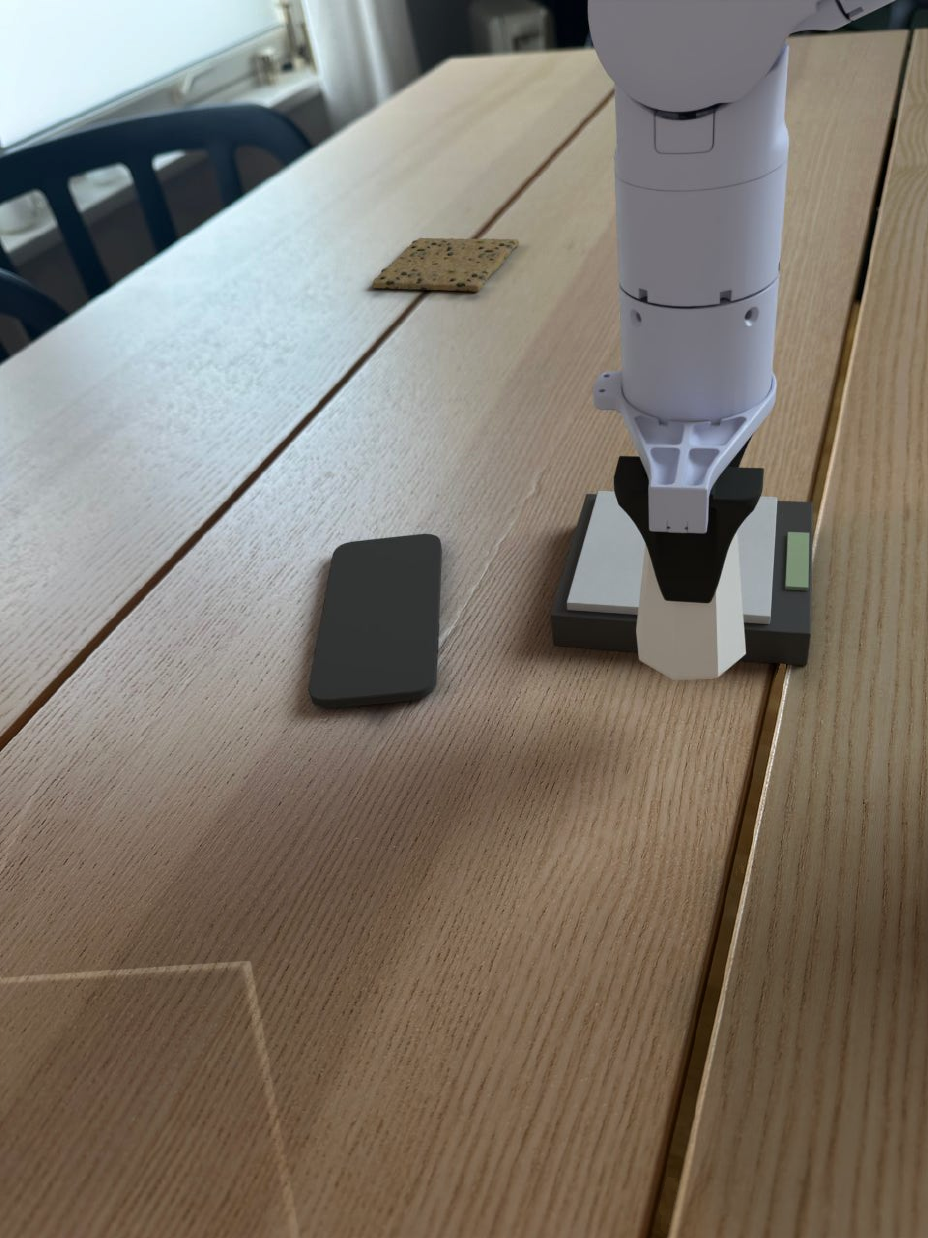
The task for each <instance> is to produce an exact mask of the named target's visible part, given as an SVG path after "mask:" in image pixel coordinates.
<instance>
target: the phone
mask: <svg viewBox="0 0 928 1238" xmlns="http://www.w3.org/2000/svg"><path fill="white" fill-rule="evenodd" d="M442 563H443V548H442V543H441V539H440V537H439V536H437V535H435V534H432V533H418V534H417V533H416V534H408V535H407V534H406V535H398V536H389V537H380V538H372V539H371V538H370V539H362V540H361V539H360V540H353V541H347V542H344V543H342V544H340V545H338V546H336V548H335V549H334V551H333V553H332V556H331V561H330V566H329V572H328V578H327V581H326V588H325V594H324V600H323V604H322V609H321V610H322V611H321V615H320V616H321V617H320V621H319V627H318V631H317V639H316V643H315V649H314V654H313V658H312V659H313V660H312V666H311V671H310V677H309V682H308V694H309V697H310V700H311V702H312V704H313V705H314V706H315V707H318V708H321V709H336V708H346V707H357V706H369V705H378V704H379V705H380V704H390V703H391V704H392V703H402V702H410V701H411V702H412V701H418V700H421V699H424V698H426V697H428V696H430V695H431V694H432V693H433V692H434V691H435V689H436V686H437V682H438V681H437V680H438V665H439V664H438V662H439V661H438V659H439V657H438V656H439V643H440V641H439V637H440V613H441V612H440V611H441V609H440V607H441V586H442V585H441V584H442Z"/></svg>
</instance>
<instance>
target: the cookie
mask: <svg viewBox="0 0 928 1238" xmlns="http://www.w3.org/2000/svg"><path fill="white" fill-rule="evenodd" d="M519 245H520V241H519V240H518V239H514V238H487V237H485V238H453V237H449V238H443V237H437V238H435V237H419V238H418V239H414V240H412V242H411V243H410V244H409V246H407V247H406V248H405V249H404V251H403V252H402V253H401V254H400V255H398V257H396V259H395V260H393V261H392V262H391V263H389V264H388V265H387V266H386V267H384V268H382V269H381V271H380V273H379V274H378V275H377V277H375V278H374V280H373V282H372V287H373V289H385V290H388V289H393V290H394V289H395V290H409V291H413V290H421V291H449V292H450V291H455V292H460V291H461V292H480V291H481V290H482V289H483V286H485V284H486V281H487V280H489V278H490V276H491V275H493V274H494V273H495V272H496V270H498V268H500V266H502V265H503V263H504V262H506V260H507V258H508V257H509V255H510V254H511V253H512V251H513V250H514V249H516V247H517V246H519Z"/></svg>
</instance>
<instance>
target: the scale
mask: <svg viewBox="0 0 928 1238" xmlns="http://www.w3.org/2000/svg"><path fill="white" fill-rule="evenodd" d="M813 516H814V503H813V501H800V500H799V501H798V500H797V501H796V500H795V501H794V500H778V497H776V496H761V497H760V499H759V501H758V503H757V505H756V507H755V509H754V511H753V512H752V513H751V514H750V515H749V516H748V517H747V518H746V519H745V520H744V522H743V523H742V524H741V526H740V527H739V529H738V530H737V536H738V550H739V564H740V578H741V592H742V605H743V619H744V633H745V647H746V654H745V655H744V656H743V657H742V658H740V659H739V660H738V661H741V662H754V663H768V664H780V665H792V666H805V667H806V666H807V665H808V661H809V653H810V647H811V646H810V645H811V639H812V602H813V601H812V598H813V597H812V596H813V594H812V593H813V592H812V590H813V583H812V582H813V532H814V531H813V529H814V528H813V526H814V525H813V524H814V523H813V522H814V519H813V518H814V517H813ZM644 550H645V541H644V539H643V537H642V535H641V533H640V532H639V530H638V528H637V527H636V525H635V523H634V522H633V521H632V519H631V518H630V517H629V516H628V514H627V513H626V512H625V511H624V510H623V509H622V508H621V507H620V506H619V505H618V502H617V499H616V496H615V493H614V490H613V491H611V490H598V491H597V493H586V494H585V496H584V501H583V503H582V507H581V510H580V514H579V517H578V521H577V523H576V528H575V530H574V533H573V537H572V541H571V543H570V547H569V551H568V554H567V557H566V561H565V564H564V567H563V571H562V574H561V576H560V577H561V578H560V580H559V585H558V588H557V592H556V595H555V598H554V600H553V601H554V602H553V605H552V608H551V612H550V614H549V615H550V625H551V626H550V627H551V634H552V644H553V646H559V647H570V648H582V649H583V648H584V649H595V650H606V651H608V650H609V651H618V652H631V653H638V644H637V634H636V627H637V617H638V608H639V598H640V589H641V579H642V570H643V560H644Z"/></svg>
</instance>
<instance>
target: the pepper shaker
mask: <svg viewBox="0 0 928 1238" xmlns="http://www.w3.org/2000/svg"><path fill="white" fill-rule="evenodd" d="M636 634H637V644H638V652H637V653H638V660H639V661H640V662H641V663H643V664H644V665H647V667H650V668H651V669H653V670H654V671H657V672H659V673H660V674H662V676H665V677H667V678H668V679H670V680H672V681H691V680H692V681H694V680H710V679H712V680H713V679H718V678H720V676H722V675H723V674H724V673H725V672H726V671H728V670H729V669H730V668H731V667H733V666H734V665H735V664H736V663H737V662H738V661H740V660H739V659H740V658H742V657H743V656H744V655H745V654H746V647H745V633H744V619H743V605H742V592H741V578H740V564H739V550H738V536H737V532H736V534H735V535H734V537H733V539H732V542H731V544H730V547H729V549H728V552H727V556H726V559H725V563H724V566H723V570H722V574H721V577H720V581H719V584H718V587H717V590H716V592H715V595H714V597H713V599H712V601H711V602H710V603H692V602H676V601H666V600H665V599H664V598H663V595H662V593H661V591H660V588H659V585H658V582H657V579H656V576H655V572H654V569H653V565H652V562H651V559H650V555H649V552H648V549H647V546H646V544H645V550H644V560H643V570H642V579H641V589H640V598H639V608H638V617H637V627H636Z"/></svg>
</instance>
